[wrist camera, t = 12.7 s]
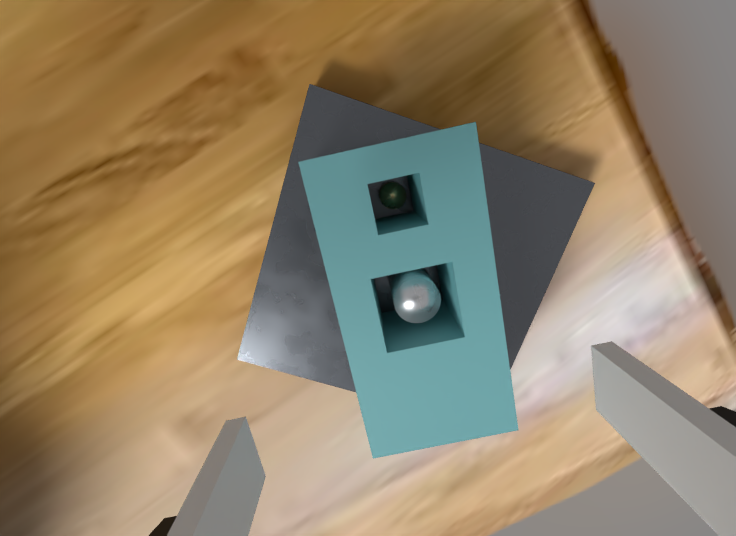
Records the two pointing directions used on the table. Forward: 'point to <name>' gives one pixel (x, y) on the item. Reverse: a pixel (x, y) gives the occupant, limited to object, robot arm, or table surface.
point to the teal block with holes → (405, 253)
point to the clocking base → (301, 267)
